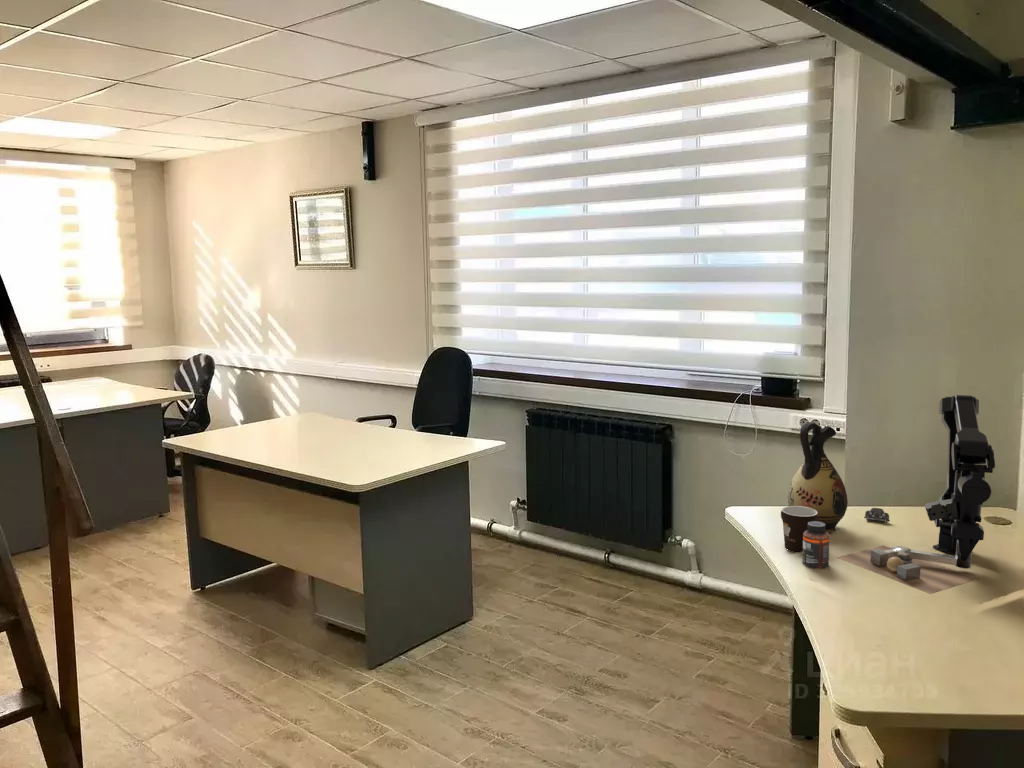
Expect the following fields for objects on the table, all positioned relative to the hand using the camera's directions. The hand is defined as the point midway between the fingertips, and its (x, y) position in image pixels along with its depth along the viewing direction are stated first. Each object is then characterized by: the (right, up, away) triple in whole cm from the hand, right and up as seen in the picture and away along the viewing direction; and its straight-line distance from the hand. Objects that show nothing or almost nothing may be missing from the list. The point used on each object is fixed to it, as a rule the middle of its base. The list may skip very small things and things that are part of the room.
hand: (962, 557), depth 188 cm
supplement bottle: (-32, -4, +6) cm, 33 cm away
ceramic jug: (-22, 0, +35) cm, 41 cm away
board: (-12, -4, +3) cm, 13 cm away
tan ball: (-16, -4, 0) cm, 16 cm away
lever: (-9, -3, +2) cm, 10 cm away
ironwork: (-13, -3, +2) cm, 13 cm away
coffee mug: (-31, -2, +21) cm, 38 cm away
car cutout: (+1, +1, +38) cm, 38 cm away
